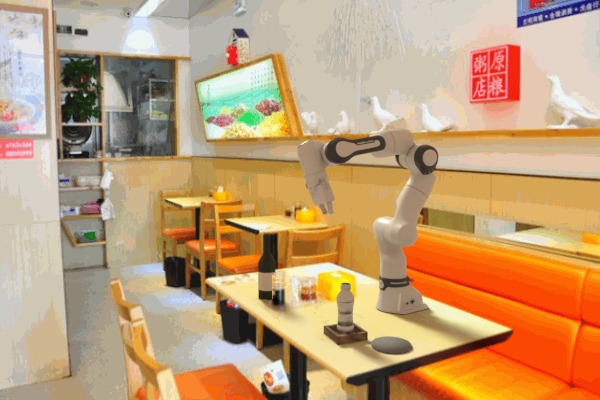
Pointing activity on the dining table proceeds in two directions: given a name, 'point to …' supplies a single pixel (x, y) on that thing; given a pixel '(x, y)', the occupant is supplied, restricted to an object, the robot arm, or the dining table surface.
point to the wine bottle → (265, 270)
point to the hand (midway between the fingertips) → (328, 214)
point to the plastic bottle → (345, 310)
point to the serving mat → (391, 345)
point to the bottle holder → (347, 338)
